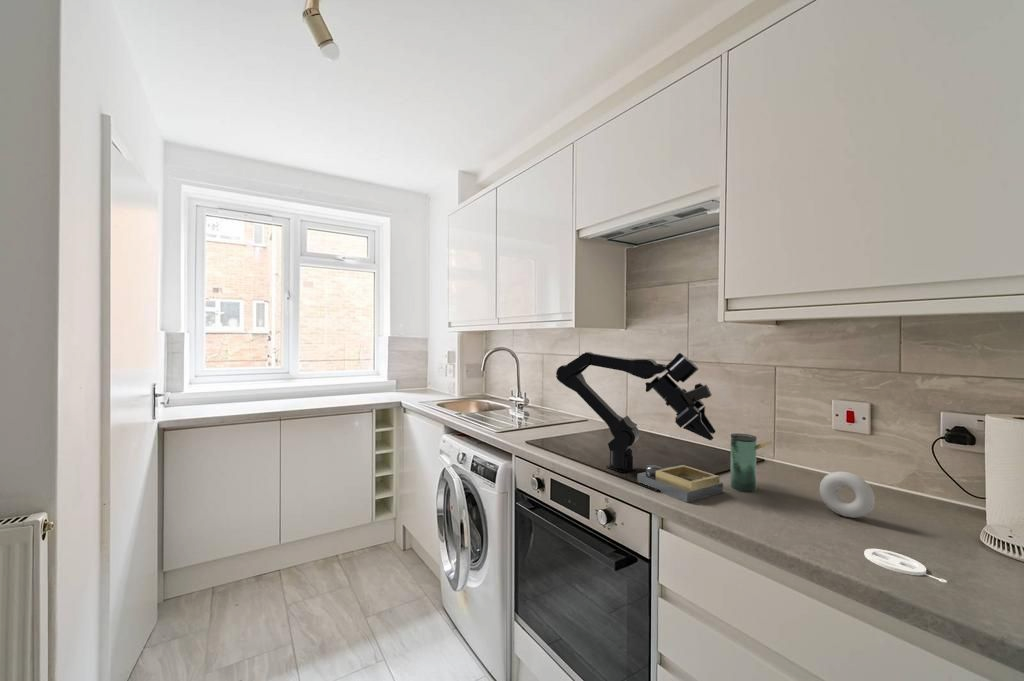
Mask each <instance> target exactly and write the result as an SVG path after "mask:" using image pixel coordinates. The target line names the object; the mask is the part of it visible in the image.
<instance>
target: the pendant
mask: <svg viewBox="0 0 1024 681" xmlns="http://www.w3.org/2000/svg"><path fill="white" fill-rule="evenodd" d="M863 553H864V557H865V558H866V559H867V560H868V561H870V562H871V563H873V564H876V565H877V566H880V567H882V568H884V569H887V570H890V571H893V572H897V573H900V574H904V575H912V576H927V577H930V578H933V579H936V580H937V581H939V582H941V583H945V584H946V583H948V581H947V580H946V579H944V578H938V577H936V576H933V575H930V574H927V568H926V566H925V565H924V564H922V563H921V562H919V561H918V560H915V559H914V558H911V557H909V556H906V555H904V554H901V553H897V552H895V551H890V550H886V549H881V548H880V549H879V548H866V549H864V552H863Z"/></svg>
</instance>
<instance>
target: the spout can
mask: <svg viewBox="0 0 1024 681" xmlns="http://www.w3.org/2000/svg"><path fill="white" fill-rule="evenodd" d="M757 438H758V437H757V436H755V435H752V434H748V433H741V432H739V433H737V432H736V433H731V434H730V480H729V482H730V488H731V489H733V490H735V491H738V492H743V493H755V492H756V491H757V450H759V449H761V448H765V447H767V446H770V445H772V441H771V440H766V441H764V442H761V443H759V444H757V441H758V440H757Z"/></svg>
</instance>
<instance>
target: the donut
mask: <svg viewBox="0 0 1024 681" xmlns="http://www.w3.org/2000/svg"><path fill="white" fill-rule="evenodd" d="M840 488H848V489H849V490H851V491H852V492H853V493H854V496H855V497H854V499H853V500H852V501H846V500H844V499H842V498H841V497H840V495H839V493H838V490H839V489H840ZM819 494H820V498H821V499H822V501H823V503H824V505H826V506H827V508H828V509H830V510H831V511H833V513H836V514H838V515H840V516H842V517H845V518H853V519H855V518H863V517H864V516H867V515H868V514H870V513H871V512H872V510H873V509H874V507H875V504H876V503H875V502H876V497H875V493H874V491H873V489H872V488H871V486H870V484H868V483H867V482H866V480H864V479H863V478H862V477H860V476H859V475H857V474H855V473H852V472H848V471H840V470H839V471H838V470H837V471H834V472H833V471H832V472H829V473H828V474H826V475H825V476H824V477H823V478H822V480H821V481H820V484H819Z"/></svg>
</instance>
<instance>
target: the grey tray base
mask: <svg viewBox="0 0 1024 681" xmlns="http://www.w3.org/2000/svg"><path fill="white" fill-rule="evenodd" d="M636 479H637V481H636V482H639V483H643V484H645V485H648V486H651V487H654V488H657V489H659V490H660V491H661V492H660V493H662V494H665V495H666V496H669V497H672V498H675V499H677V500H679V501H682V502H685V503H692V502H694V501H697V500H702V499H705V498H709V497H712V496H717V495H719V494H723V493H724V483H723V482H721V481H720V476H719V475H717V474H713V473H710V472H707V471H704V470H700V469H697V468H694V467H691V466H689V465H688V466H687V465H684V464H681V465H676V466H668V467H664V468H662V467H661V466H659V465H657V464H656V465H655V464H648V465H645V471H644V472H639V473H637V478H636ZM639 483H638V484H639Z"/></svg>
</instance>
